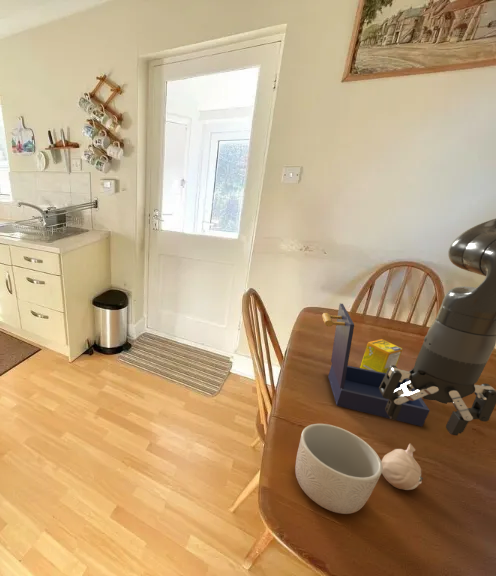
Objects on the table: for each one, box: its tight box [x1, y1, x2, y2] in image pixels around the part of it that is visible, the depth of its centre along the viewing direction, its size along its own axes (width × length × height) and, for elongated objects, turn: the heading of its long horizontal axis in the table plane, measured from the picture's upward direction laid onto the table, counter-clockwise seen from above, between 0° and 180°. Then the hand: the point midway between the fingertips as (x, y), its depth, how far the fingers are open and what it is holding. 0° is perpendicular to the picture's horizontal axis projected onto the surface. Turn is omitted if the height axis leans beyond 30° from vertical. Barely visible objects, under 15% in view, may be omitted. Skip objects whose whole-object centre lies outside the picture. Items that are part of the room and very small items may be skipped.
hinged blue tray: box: [327, 364, 431, 427], centre depth 84 cm, size 18×14×5 cm
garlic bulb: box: [381, 443, 424, 491], centre depth 62 cm, size 7×6×8 cm
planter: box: [294, 423, 383, 515], centre depth 60 cm, size 12×12×11 cm
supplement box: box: [359, 338, 403, 373], centre depth 93 cm, size 6×6×11 cm
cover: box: [321, 303, 355, 389], centre depth 85 cm, size 18×14×5 cm
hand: (420, 424), depth 58 cm, fingers open, 8 cm apart
